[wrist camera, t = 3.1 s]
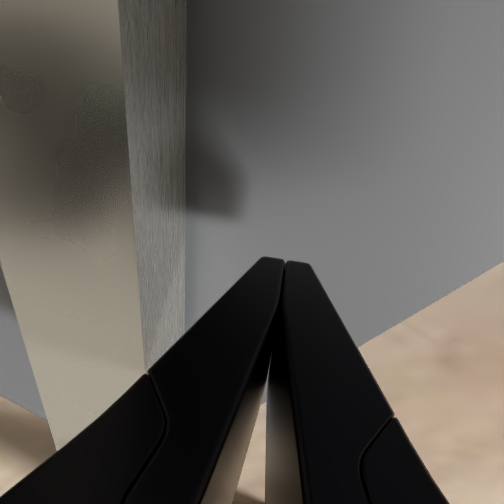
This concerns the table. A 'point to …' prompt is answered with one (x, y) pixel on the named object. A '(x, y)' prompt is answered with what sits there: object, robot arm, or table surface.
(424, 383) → the table surface
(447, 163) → the dial plate
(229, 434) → the robot arm
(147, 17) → the pointer
